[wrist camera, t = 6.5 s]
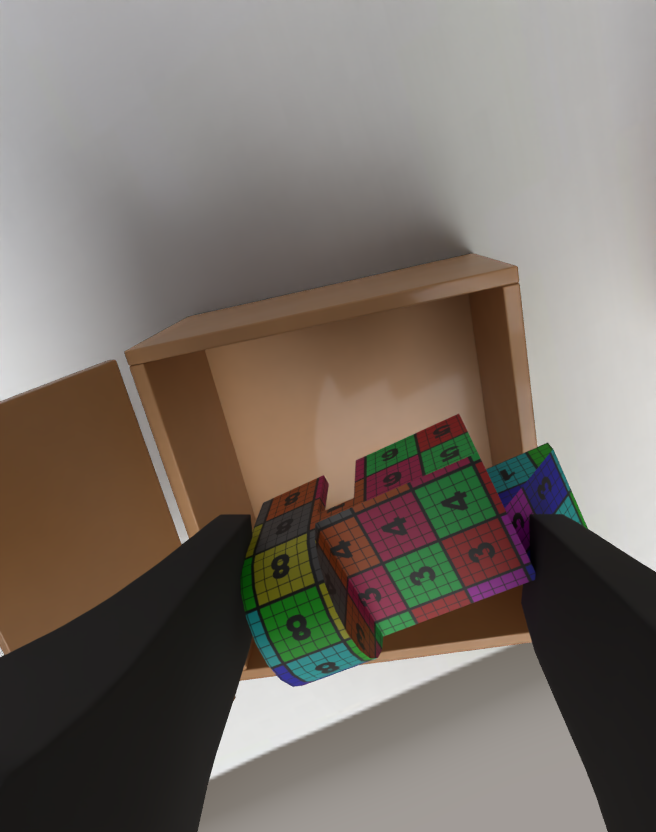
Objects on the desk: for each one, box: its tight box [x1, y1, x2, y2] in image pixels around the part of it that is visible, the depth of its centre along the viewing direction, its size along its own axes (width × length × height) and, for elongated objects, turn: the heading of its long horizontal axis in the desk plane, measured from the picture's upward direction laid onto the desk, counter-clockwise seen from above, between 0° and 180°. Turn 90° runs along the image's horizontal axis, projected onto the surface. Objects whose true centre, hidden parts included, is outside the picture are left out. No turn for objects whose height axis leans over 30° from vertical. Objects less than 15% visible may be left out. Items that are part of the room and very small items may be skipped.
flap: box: [0, 360, 236, 701], centre depth 13 cm, size 5×11×1 cm
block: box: [241, 414, 588, 687], centre depth 10 cm, size 6×4×3 cm
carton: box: [124, 253, 537, 681], centre depth 17 cm, size 10×11×5 cm
